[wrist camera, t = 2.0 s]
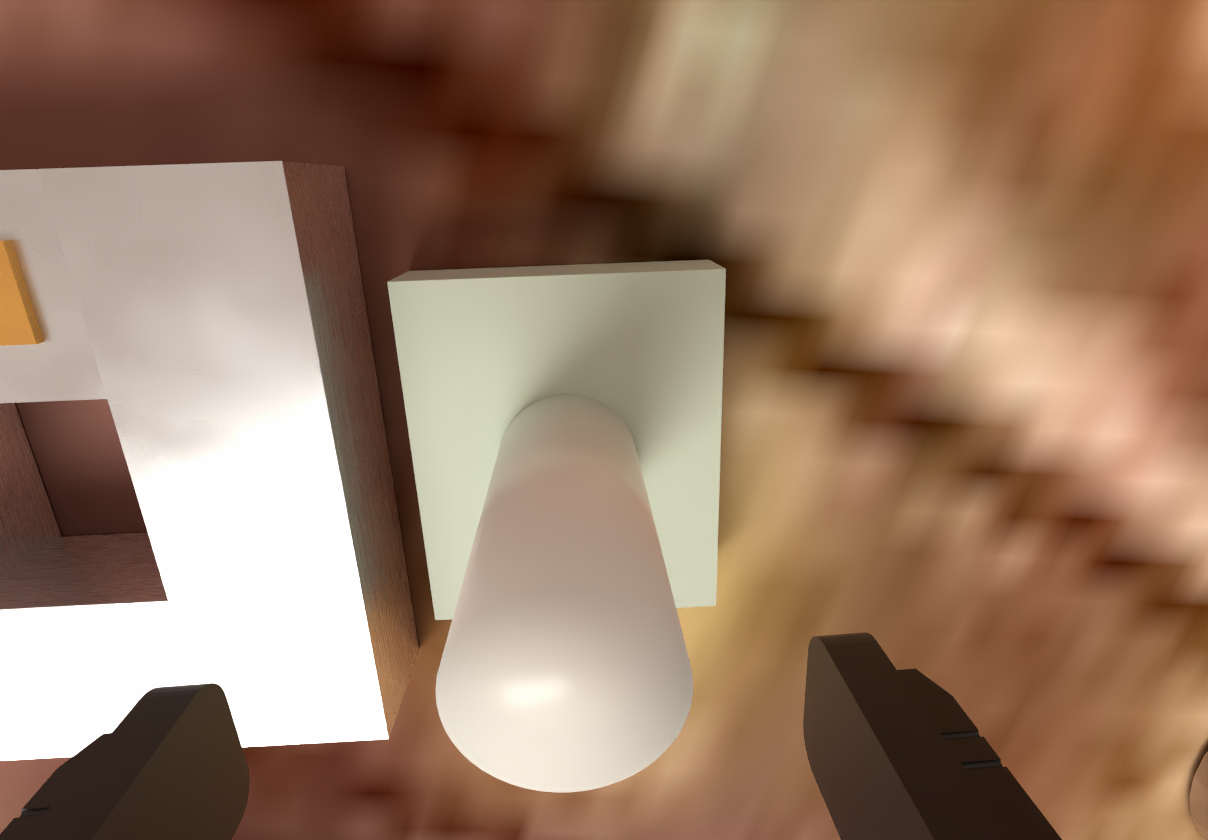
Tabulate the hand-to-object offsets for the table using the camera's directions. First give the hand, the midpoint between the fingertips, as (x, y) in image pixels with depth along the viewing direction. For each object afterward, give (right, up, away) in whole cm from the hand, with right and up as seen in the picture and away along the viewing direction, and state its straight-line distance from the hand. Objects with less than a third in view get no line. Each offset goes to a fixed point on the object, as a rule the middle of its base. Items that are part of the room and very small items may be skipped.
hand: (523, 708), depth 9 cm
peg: (0, +3, +7) cm, 8 cm away
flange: (-12, +3, +9) cm, 15 cm away
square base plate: (0, +4, +9) cm, 10 cm away
